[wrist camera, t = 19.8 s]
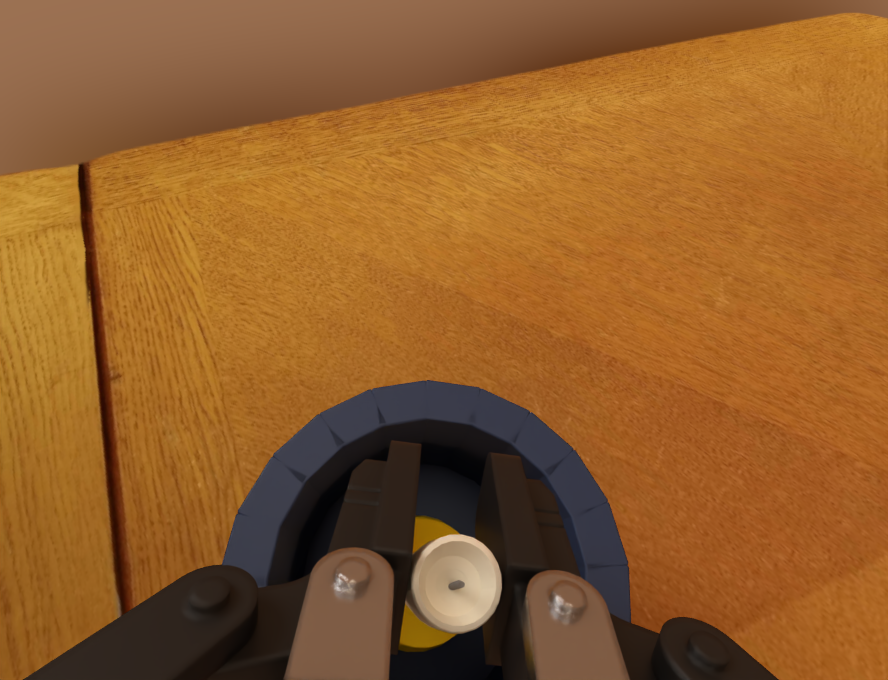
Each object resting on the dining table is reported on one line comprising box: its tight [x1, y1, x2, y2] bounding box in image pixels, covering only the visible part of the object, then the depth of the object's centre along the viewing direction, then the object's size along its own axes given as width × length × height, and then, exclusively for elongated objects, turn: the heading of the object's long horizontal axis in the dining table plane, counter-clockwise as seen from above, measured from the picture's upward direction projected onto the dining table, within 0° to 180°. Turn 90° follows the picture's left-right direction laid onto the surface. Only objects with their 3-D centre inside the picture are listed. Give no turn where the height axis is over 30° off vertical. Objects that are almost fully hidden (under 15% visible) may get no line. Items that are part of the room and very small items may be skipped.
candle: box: [398, 515, 502, 652], centre depth 15 cm, size 5×5×16 cm
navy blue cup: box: [222, 380, 631, 680], centre depth 19 cm, size 11×11×11 cm
